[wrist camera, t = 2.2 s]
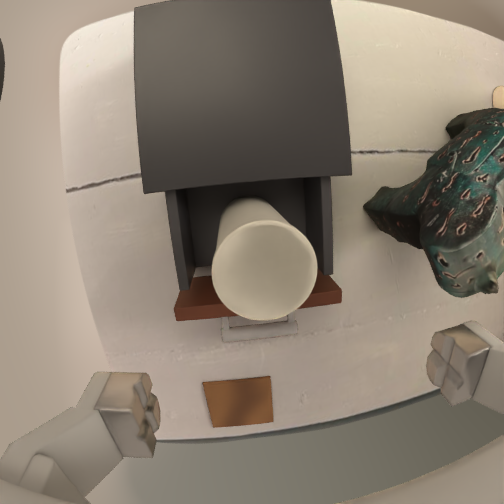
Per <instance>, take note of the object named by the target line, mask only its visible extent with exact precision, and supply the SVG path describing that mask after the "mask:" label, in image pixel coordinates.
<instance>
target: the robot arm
mask: <svg viewBox="0 0 504 504" xmlns="http://www.w3.org/2000/svg"><path fill="white" fill-rule="evenodd" d="M431 346H432V348H433V351H432V352H431V353H430V355H429V356H428V359H427V364H426V368H427V375H428V377H429V379H430V381H431V382H432V383H433V385H435V386H438V387H441V394H442V396H443V397H444V398H445V399H446V400H447V402H448V403H449V404H450V405H451V406H454V405H456V404H459V403H461V402H464V401H466V400H468V399H471V398H472V399H473V400H475V401H477V402H479V403H481V404H483V405H485V406H487V407H489V408H491V409H493V410H495V411H497V412H499V413H501V414H503V415H504V342H502V341H501V340H500V339H498V338H497V337H496V336H495V335H493V334H492V333H491V332H489V331H488V330H487V329H485V328H484V327H483V326H481V325H480V324H479V323H477V322H476V321H469V322H466V323H463V324H460V325H458V326H455V327H452V328H448V329H445V330H442V331H438V332H435V333H434V335H433V337H432V341H431ZM152 385H153V384H152V382H151V379H150V376H149V375H148V374H147V373H128V372H97V373H95V374H94V375H93V377H92V378H91V380H90V382H89V384H88V385H87V388H86V389H85V391H84V393H83V395H82V397H81V398H80V400H79V402H78V404H77V406H76V408H73V407H71V408H69V409H67V410H66V411H64V412H62V413H61V414H59V415H58V416H56V417H55V418H53V419H51V420H49V421H48V422H46V423H44V424H43V425H41V426H39V427H38V428H36V429H34V430H33V431H31V432H29V433H28V434H26V435H24V436H23V437H21V438H19V439H17V440H16V441H14V442H12V443H11V444H9V446H8V448H7V449H6V451H5V452H4V454H3V456H2V458H1V459H0V504H90V503H89V501H88V500H87V499H86V498H85V496H86V495H87V494H88V493H89V492H90V491H91V490H92V489H94V487H95V486H97V485H98V483H100V482H101V481H102V480H103V479H104V478H105V476H106V475H108V474H109V473H110V472H111V471H112V470H113V468H115V467H116V466H117V464H119V462H120V461H121V460H122V459H123V457H136V458H153V455H154V449H155V445H156V441H157V440H156V438H155V435H154V432H156V431H157V430H158V429H159V426H160V407H159V402H158V399H157V397H156V396H155V395H154V394H152V393H151V389H152ZM335 504H504V435H502V436H500V437H499V438H497V439H495V440H494V441H492V442H491V443H488V444H487V445H485V446H483V447H481V448H480V449H478V450H476V451H474V452H472V453H470V454H468V455H466V456H465V457H462V458H460V459H458V460H457V461H454V462H452V463H450V464H448V465H446V466H444V467H442V468H440V469H437V470H435V471H432V472H430V473H428V474H426V475H423V476H420V477H418V478H415V479H413V480H410V481H408V482H405V483H402V484H399V485H397V486H394V487H391V488H388V489H385V490H382V491H379V492H376V493H372V494H369V495H366V496H362V497H358V498H355V499H351V500H347V501H343V502H339V503H335Z"/></svg>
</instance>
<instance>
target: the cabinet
mask: <svg viewBox="0 0 504 504" xmlns="http://www.w3.org/2000/svg"><path fill="white" fill-rule="evenodd" d="M134 80H135V102H136V119H137V133H138V145H139V156H140V165H141V175H142V184H143V192H144V194H148V193H155V192H163V191H170V190H178V189H186V188H194V187H203V186H212V185H221V184H231V183H241V182H252V181H264V180H277V179H291V178H307V177H325V176H348V175H352V164H351V149H350V135H349V124H348V113H347V103H346V94H345V86H344V78H343V71H342V63H341V57H340V50H339V44H338V38H337V32H336V26H335V21H334V15H333V10H332V5H331V0H170V1H165V2H160V3H154V4H149V5H144V6H140V7H136V8H135V9H134Z"/></svg>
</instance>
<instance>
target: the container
mask: <svg viewBox="0 0 504 504" xmlns="http://www.w3.org/2000/svg"><path fill="white" fill-rule="evenodd" d="M316 277H317V259H316V255H315V252H314V249H313V247H312V246H311V244H310V242H309V241H308V239H307V238H306V237H305V236H304V235H303V234H302V233H301V232H300V231H299V230H298V229H296V228H295V227H294V226H292V225H290V224H289V223H288V222H287V221H286V220H285V219H284V218H283V217H282V216H281V215H280V214H279V213H278V212H277V211H276V210H275V209H274V208H273V207H272V206H271V205H270V204H269V203H268V202H267V201H265V200H264V199H262V198H259V197H256V196H242V197H239V198H237V199H235V200H233V201H232V202H230V203H229V204H228V205H227V206H226V208H225V209H224V211H223V212H222V215H221V218H220V224H219V232H218V239H217V246H216V251H215V254H214V258H213V262H212V281H213V286H214V288H215V291H216V293H217V295H218V297H219V298H220V300H221V301H222V302H223V303H224V305H225V306H226V307H227V308H229V309H230V310H231V311H233V312H234V313H236V314H237V315H240V316H242V317H244V318H248V319H252V320H260V321H265V320H273V319H278V318H281V317H283V316H286V315H288V314H290V313H291V312H293V311H295V310H296V309H297V308H299V307H300V306H301V305H302V304H303V303H304V302H305V300H306V299H307V298H308V296H309V295H310V293H311V292H312V289H313V287H314V285H315V281H316Z"/></svg>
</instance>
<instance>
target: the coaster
mask: <svg viewBox="0 0 504 504" xmlns="http://www.w3.org/2000/svg"><path fill="white" fill-rule="evenodd" d="M203 387H204V391H205V396H206V400H207V404H208V408H209V412H210V416H211V421H212V424H213V428H214V427H229V426H241V425H252V424H261V423H269V422H273V407H272V393H271V379H270V376H265V377H257V378H248V379H238V380H226V381H214V382H203Z"/></svg>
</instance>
